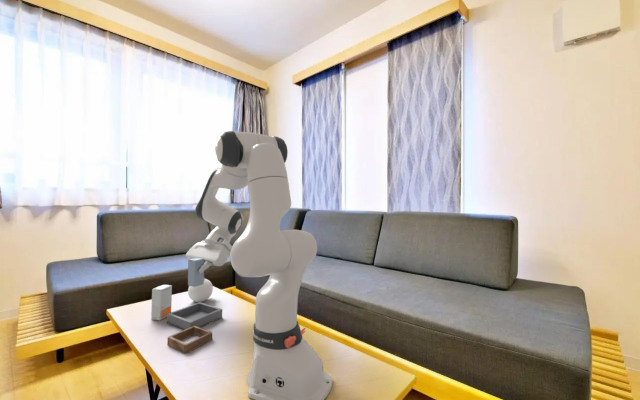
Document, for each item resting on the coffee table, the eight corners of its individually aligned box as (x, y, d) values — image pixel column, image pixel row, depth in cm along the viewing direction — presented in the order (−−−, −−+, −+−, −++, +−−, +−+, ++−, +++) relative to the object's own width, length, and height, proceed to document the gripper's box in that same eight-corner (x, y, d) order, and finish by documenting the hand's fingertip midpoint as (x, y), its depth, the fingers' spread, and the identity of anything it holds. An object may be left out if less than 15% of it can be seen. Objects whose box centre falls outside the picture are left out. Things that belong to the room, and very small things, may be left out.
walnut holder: (212, 339, 91) (212, 332, 91) (185, 353, 82) (185, 345, 82) (194, 332, 95) (194, 325, 95) (167, 344, 87) (167, 337, 87)
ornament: (217, 298, 128) (217, 273, 128) (201, 306, 118) (202, 279, 119) (199, 295, 131) (199, 271, 131) (182, 303, 122) (183, 276, 122)
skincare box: (160, 320, 104) (160, 289, 104) (150, 319, 105) (151, 288, 105) (171, 314, 110) (172, 285, 110) (162, 313, 111) (163, 284, 111)
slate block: (203, 284, 106) (204, 258, 106) (194, 287, 102) (194, 260, 102) (197, 282, 108) (197, 257, 108) (187, 285, 104) (188, 259, 104)
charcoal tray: (222, 317, 107) (222, 309, 107) (190, 332, 95) (190, 322, 95) (199, 310, 114) (199, 302, 114) (166, 323, 102) (167, 313, 102)
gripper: (195, 236, 116) (173, 263, 108) (228, 240, 106) (206, 270, 97) (204, 245, 120) (183, 271, 111) (237, 249, 110) (216, 279, 101)
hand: (194, 271), depth 104 cm, fingers closed on slate block, 4 cm apart
